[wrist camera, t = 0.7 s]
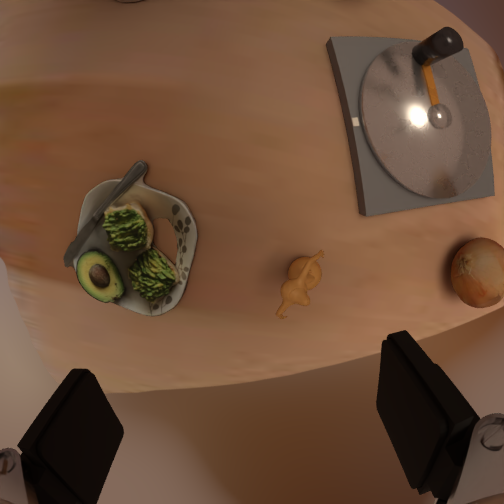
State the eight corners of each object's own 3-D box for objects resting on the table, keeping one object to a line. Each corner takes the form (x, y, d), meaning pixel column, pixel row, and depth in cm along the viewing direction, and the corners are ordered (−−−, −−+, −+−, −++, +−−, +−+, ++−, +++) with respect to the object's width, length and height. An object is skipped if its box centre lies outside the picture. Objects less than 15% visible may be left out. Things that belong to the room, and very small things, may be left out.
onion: (446, 226, 36) (490, 244, 27) (489, 235, 37) (531, 252, 27) (431, 291, 39) (468, 321, 29) (474, 293, 39) (511, 319, 30)
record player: (341, 42, 28) (365, 12, 19) (466, 53, 27) (503, 38, 18) (374, 207, 33) (408, 219, 25) (491, 189, 32) (532, 197, 24)
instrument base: (325, 44, 30) (331, 36, 27) (458, 52, 29) (468, 48, 26) (359, 213, 36) (367, 216, 33) (484, 193, 35) (495, 195, 32)
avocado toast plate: (95, 144, 34) (77, 142, 29) (221, 186, 35) (217, 188, 31) (67, 276, 39) (50, 287, 34) (175, 322, 40) (167, 339, 36)
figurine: (299, 302, 39) (316, 354, 27) (258, 282, 38) (260, 330, 27) (332, 246, 37) (364, 281, 25) (290, 224, 36) (308, 251, 25)
